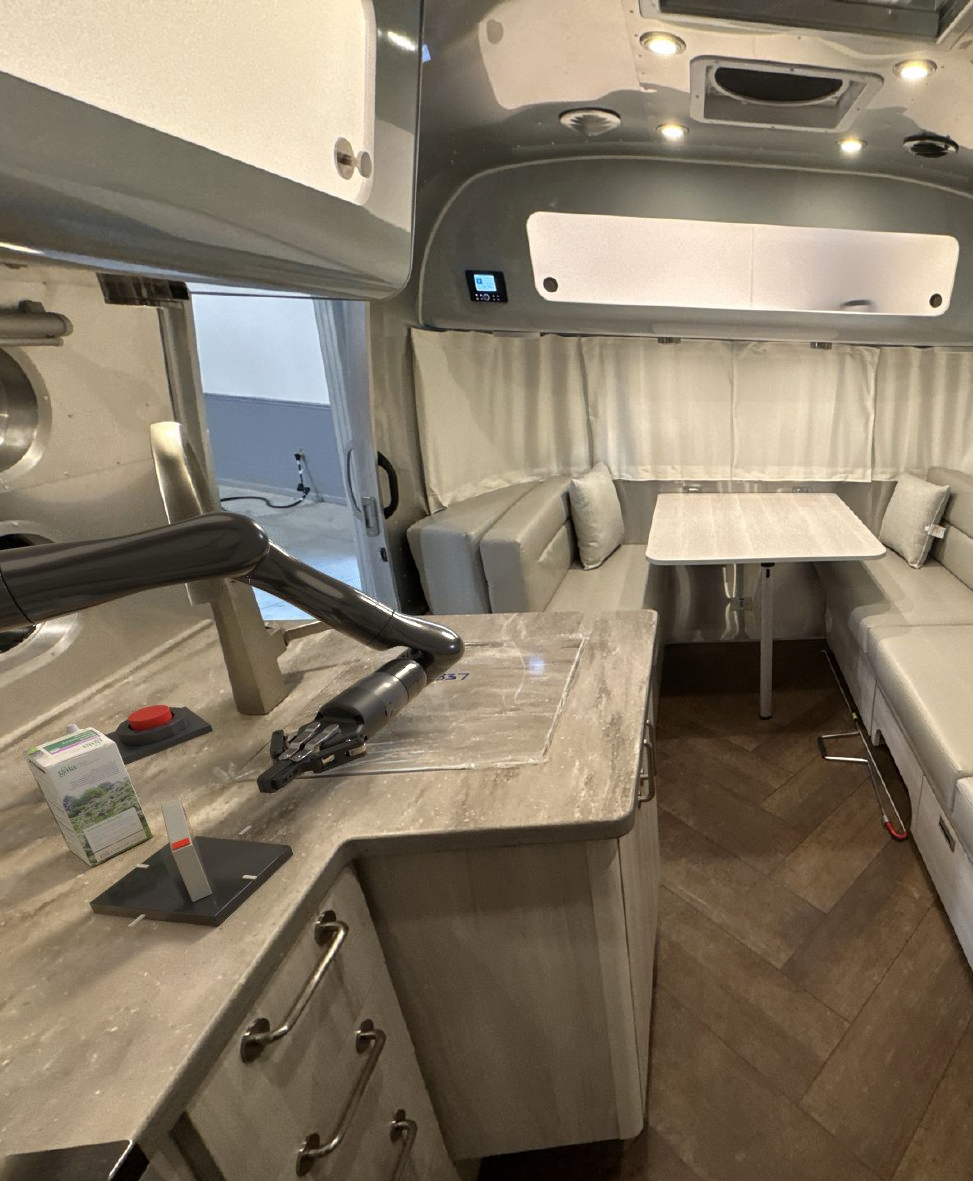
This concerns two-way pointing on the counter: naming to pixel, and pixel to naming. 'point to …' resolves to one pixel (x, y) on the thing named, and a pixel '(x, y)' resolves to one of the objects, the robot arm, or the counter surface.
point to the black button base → (158, 735)
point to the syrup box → (89, 794)
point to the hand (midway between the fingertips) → (264, 787)
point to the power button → (150, 717)
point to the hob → (165, 894)
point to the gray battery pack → (185, 849)
